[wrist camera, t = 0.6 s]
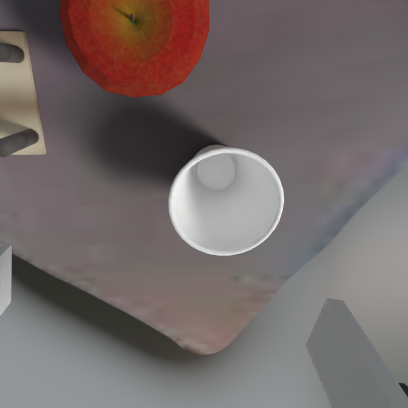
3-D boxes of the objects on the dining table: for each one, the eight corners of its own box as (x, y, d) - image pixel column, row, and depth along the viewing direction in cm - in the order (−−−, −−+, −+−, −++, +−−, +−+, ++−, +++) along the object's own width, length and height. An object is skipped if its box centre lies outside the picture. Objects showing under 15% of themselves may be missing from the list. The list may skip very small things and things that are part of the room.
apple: (170, -56, 30) (159, -134, 19) (223, 58, 34) (240, 49, 22) (70, 9, 31) (4, -28, 20) (131, 110, 35) (105, 128, 24)
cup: (170, 205, 39) (163, 251, 29) (177, 122, 36) (173, 141, 26) (250, 213, 40) (272, 260, 30) (265, 132, 37) (295, 154, 26)
